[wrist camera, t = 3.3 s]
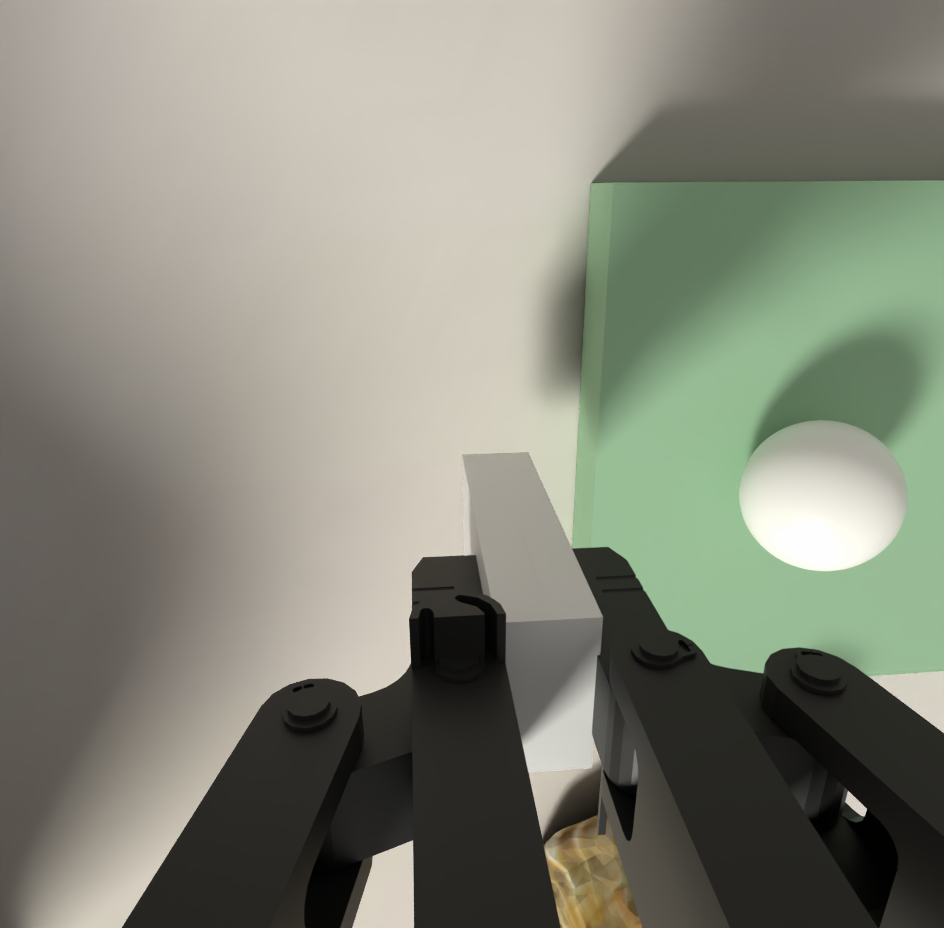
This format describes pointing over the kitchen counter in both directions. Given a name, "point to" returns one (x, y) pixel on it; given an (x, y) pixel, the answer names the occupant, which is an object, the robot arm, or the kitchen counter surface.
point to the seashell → (589, 878)
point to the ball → (823, 495)
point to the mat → (763, 402)
